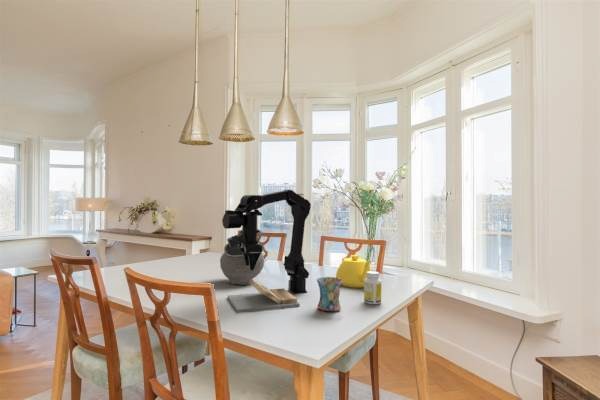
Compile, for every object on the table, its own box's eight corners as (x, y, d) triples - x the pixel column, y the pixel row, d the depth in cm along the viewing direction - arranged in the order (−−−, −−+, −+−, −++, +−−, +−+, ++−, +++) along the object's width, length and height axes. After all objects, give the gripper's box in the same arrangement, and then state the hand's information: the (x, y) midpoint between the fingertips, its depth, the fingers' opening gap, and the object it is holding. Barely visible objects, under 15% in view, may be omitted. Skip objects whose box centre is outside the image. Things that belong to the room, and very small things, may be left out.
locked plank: (283, 292, 143) (283, 288, 143) (296, 302, 128) (297, 298, 128) (269, 293, 141) (270, 289, 141) (282, 304, 126) (282, 299, 126)
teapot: (387, 289, 155) (387, 259, 155) (352, 292, 149) (353, 260, 149) (358, 277, 178) (358, 251, 178) (327, 280, 172) (327, 252, 172)
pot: (247, 275, 178) (248, 227, 179) (272, 282, 163) (273, 229, 164) (211, 281, 165) (212, 228, 165) (234, 289, 149) (236, 231, 150)
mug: (312, 306, 127) (312, 277, 127) (334, 304, 130) (335, 276, 130) (326, 316, 116) (326, 285, 116) (350, 314, 119) (351, 283, 119)
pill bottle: (381, 301, 136) (382, 271, 136) (380, 305, 130) (380, 274, 130) (365, 299, 138) (365, 270, 138) (362, 303, 132) (363, 273, 132)
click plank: (267, 292, 140) (269, 289, 141) (279, 303, 126) (281, 299, 126) (249, 282, 138) (251, 278, 138) (259, 292, 123) (261, 288, 123)
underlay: (283, 293, 145) (283, 291, 145) (299, 306, 127) (299, 303, 127) (227, 297, 136) (227, 295, 136) (237, 312, 118) (237, 309, 118)
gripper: (225, 226, 140) (225, 264, 140) (232, 230, 122) (232, 274, 122) (252, 225, 144) (252, 263, 144) (263, 229, 126) (262, 272, 126)
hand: (249, 267), depth 134 cm, fingers open, 9 cm apart
